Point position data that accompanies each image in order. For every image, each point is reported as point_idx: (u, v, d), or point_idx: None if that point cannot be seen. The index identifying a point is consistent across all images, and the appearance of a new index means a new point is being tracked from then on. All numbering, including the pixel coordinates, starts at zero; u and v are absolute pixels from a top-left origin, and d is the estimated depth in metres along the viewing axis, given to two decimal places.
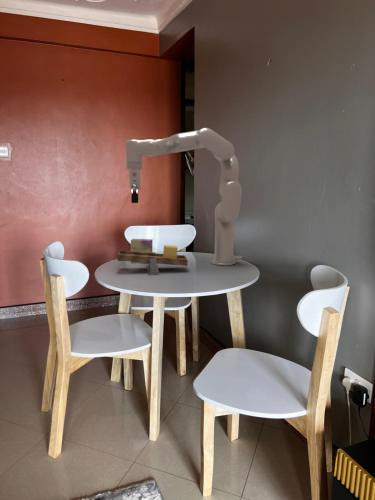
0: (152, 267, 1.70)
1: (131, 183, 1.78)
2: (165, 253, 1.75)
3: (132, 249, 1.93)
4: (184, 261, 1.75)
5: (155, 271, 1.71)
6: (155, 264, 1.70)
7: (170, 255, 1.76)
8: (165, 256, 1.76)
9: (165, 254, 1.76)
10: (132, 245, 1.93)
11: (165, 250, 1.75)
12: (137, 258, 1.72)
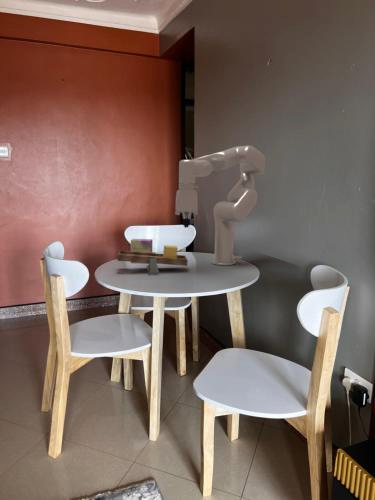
0: (152, 267, 1.70)
1: (197, 205, 1.74)
2: (165, 253, 1.75)
3: (132, 249, 1.93)
4: (184, 261, 1.75)
5: (155, 271, 1.71)
6: (155, 264, 1.70)
7: (170, 255, 1.76)
8: (165, 256, 1.76)
9: (165, 254, 1.76)
10: (132, 245, 1.93)
11: (165, 250, 1.75)
12: (137, 258, 1.72)
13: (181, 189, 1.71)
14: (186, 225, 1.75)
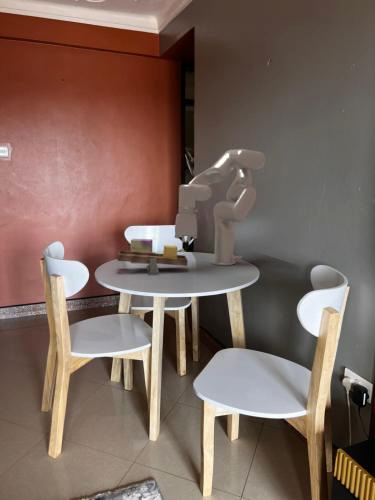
0: (152, 267, 1.70)
1: None
2: (165, 253, 1.75)
3: (132, 249, 1.93)
4: (184, 261, 1.75)
5: (155, 271, 1.71)
6: (155, 264, 1.70)
7: (170, 255, 1.76)
8: (165, 256, 1.76)
9: (165, 254, 1.76)
10: (132, 245, 1.93)
11: (165, 250, 1.75)
12: (137, 258, 1.72)
13: (181, 213, 1.73)
14: (185, 248, 1.77)
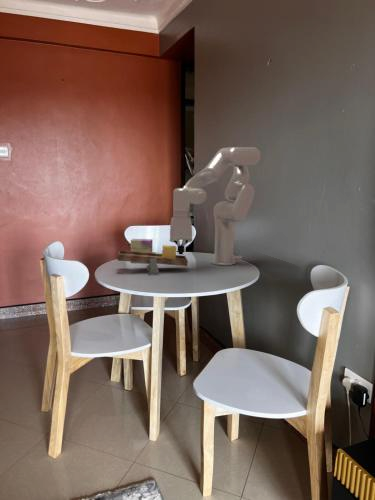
0: (152, 267, 1.70)
1: (191, 232, 1.76)
2: (164, 253, 1.75)
3: (132, 249, 1.93)
4: (184, 261, 1.75)
5: (155, 271, 1.71)
6: (155, 264, 1.70)
7: (169, 255, 1.76)
8: (164, 256, 1.76)
9: (164, 254, 1.76)
10: (132, 245, 1.93)
11: (164, 250, 1.75)
12: (137, 258, 1.72)
13: (175, 217, 1.73)
14: (180, 252, 1.77)
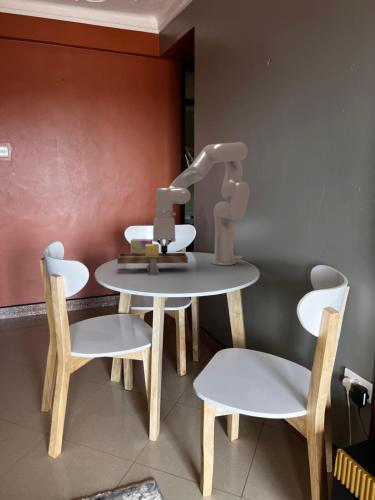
0: (152, 267, 1.70)
1: None
2: (147, 252, 1.74)
3: (132, 249, 1.93)
4: (184, 258, 1.75)
5: (155, 271, 1.71)
6: (155, 264, 1.70)
7: (152, 253, 1.75)
8: (147, 255, 1.74)
9: (147, 253, 1.74)
10: (132, 245, 1.93)
11: (146, 249, 1.74)
12: (137, 259, 1.72)
13: (158, 217, 1.72)
14: (163, 252, 1.76)
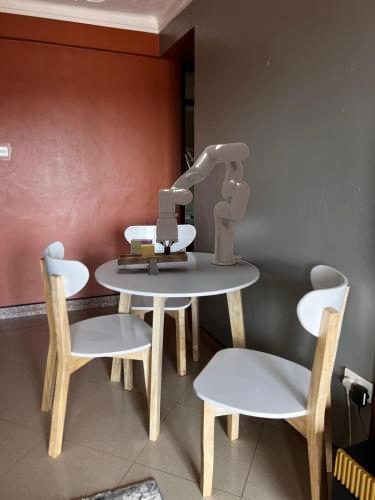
0: (152, 267, 1.70)
1: (177, 233, 1.76)
2: (143, 253, 1.74)
3: (132, 249, 1.93)
4: (184, 257, 1.74)
5: (155, 271, 1.71)
6: (155, 264, 1.70)
7: (148, 253, 1.74)
8: (143, 256, 1.74)
9: (143, 254, 1.74)
10: (132, 245, 1.93)
11: (142, 250, 1.74)
12: (137, 260, 1.72)
13: (161, 218, 1.72)
14: (167, 253, 1.77)
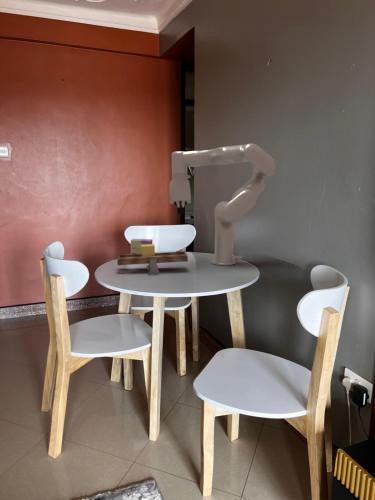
0: (152, 267, 1.70)
1: (190, 194, 1.85)
2: (143, 253, 1.74)
3: (132, 249, 1.93)
4: (184, 257, 1.74)
5: (155, 271, 1.71)
6: (155, 264, 1.70)
7: (148, 253, 1.74)
8: (143, 256, 1.74)
9: (143, 254, 1.74)
10: (132, 245, 1.93)
11: (142, 250, 1.74)
12: (137, 260, 1.72)
13: (174, 179, 1.81)
14: (180, 213, 1.86)
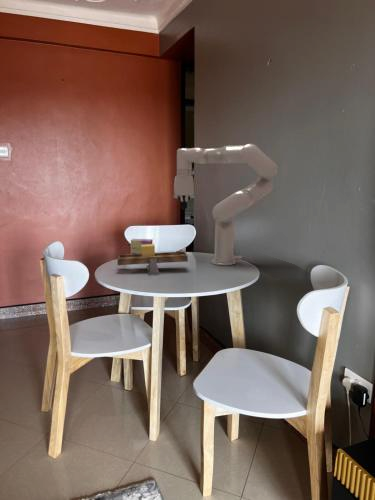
0: (152, 267, 1.70)
1: (193, 189, 1.94)
2: (143, 253, 1.74)
3: (132, 249, 1.93)
4: (184, 257, 1.74)
5: (155, 271, 1.71)
6: (155, 264, 1.70)
7: (148, 253, 1.74)
8: (143, 256, 1.74)
9: (143, 254, 1.74)
10: (132, 245, 1.93)
11: (142, 250, 1.74)
12: (137, 260, 1.72)
13: (179, 175, 1.90)
14: (183, 207, 1.95)
